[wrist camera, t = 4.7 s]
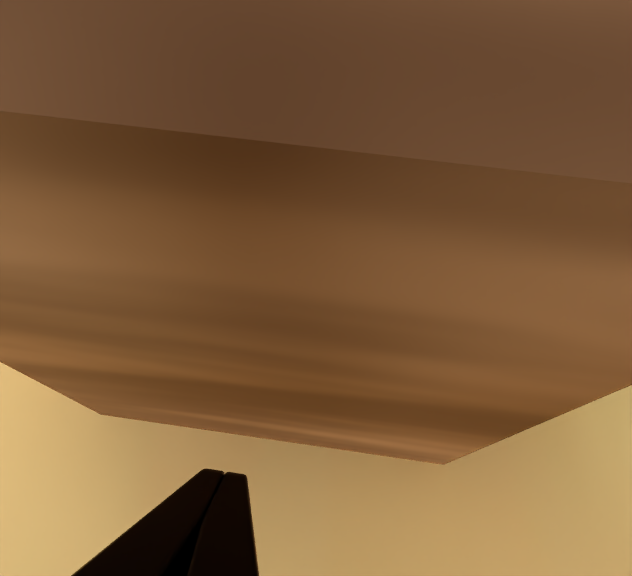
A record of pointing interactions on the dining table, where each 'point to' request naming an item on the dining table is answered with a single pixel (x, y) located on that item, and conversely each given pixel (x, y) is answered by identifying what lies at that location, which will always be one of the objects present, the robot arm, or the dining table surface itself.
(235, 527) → the robot arm
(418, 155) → the walnut plank
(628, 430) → the dining table surface
